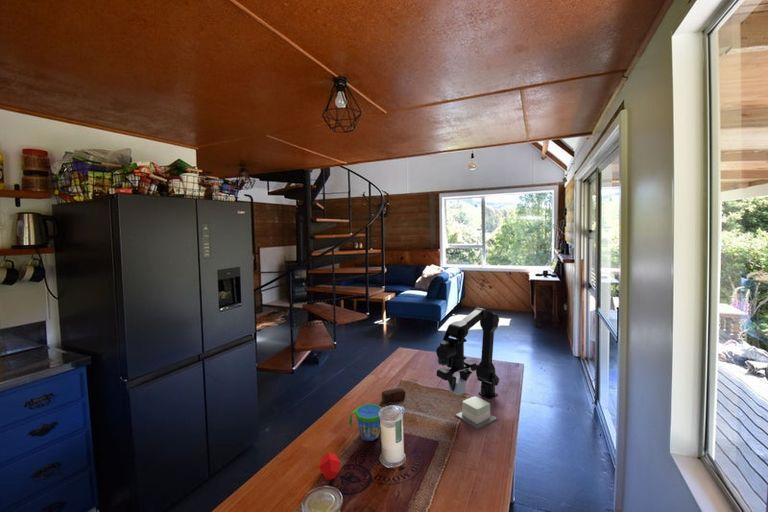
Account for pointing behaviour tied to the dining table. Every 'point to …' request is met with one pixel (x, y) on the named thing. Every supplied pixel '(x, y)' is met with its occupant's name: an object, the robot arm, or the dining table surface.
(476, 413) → the pale block on slab
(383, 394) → the brick
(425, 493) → the dining table surface
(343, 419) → the dining table surface
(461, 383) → the top block
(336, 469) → the red rounded lump
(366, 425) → the snack cup
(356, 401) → the dining table surface
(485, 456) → the dining table surface
